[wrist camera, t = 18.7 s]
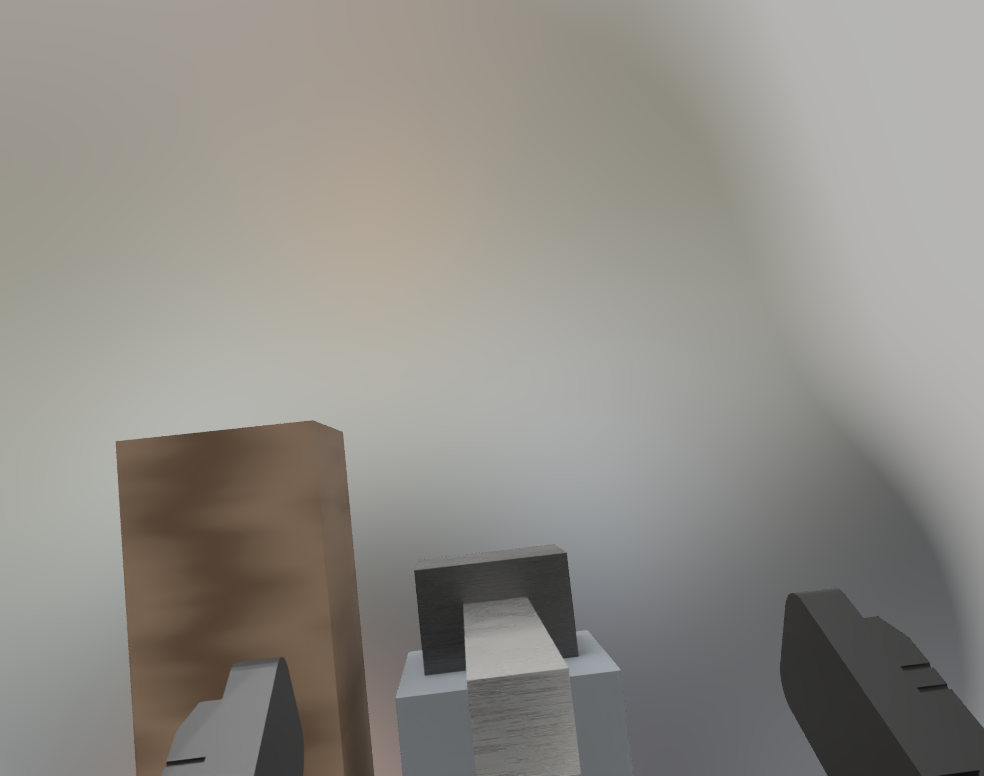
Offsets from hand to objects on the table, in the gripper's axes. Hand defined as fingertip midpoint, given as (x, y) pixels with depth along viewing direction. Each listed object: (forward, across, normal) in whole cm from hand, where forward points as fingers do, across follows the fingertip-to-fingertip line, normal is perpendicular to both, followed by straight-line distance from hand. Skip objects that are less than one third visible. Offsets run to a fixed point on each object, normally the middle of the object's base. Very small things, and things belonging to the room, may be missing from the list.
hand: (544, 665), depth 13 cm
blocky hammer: (+11, 0, -11) cm, 16 cm away
